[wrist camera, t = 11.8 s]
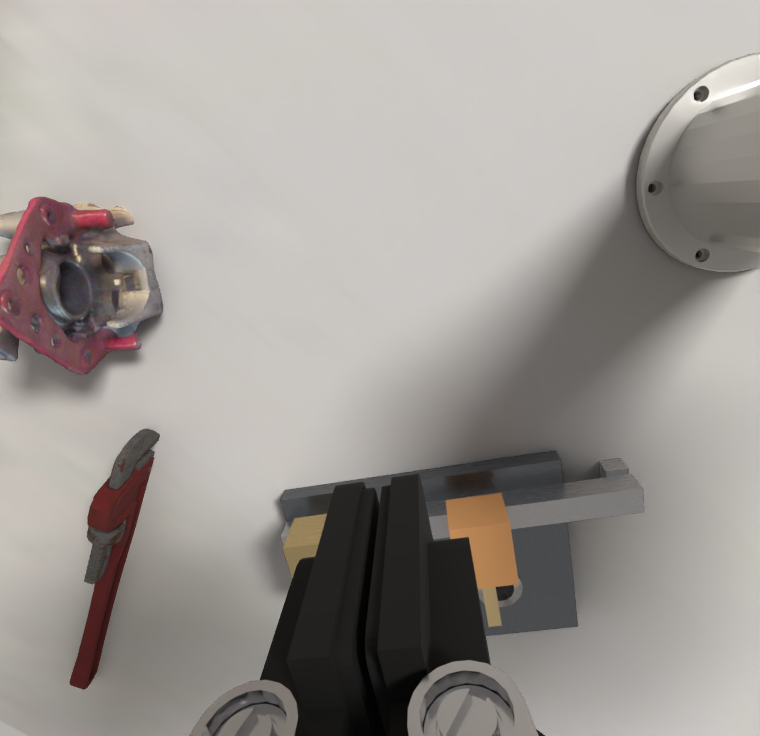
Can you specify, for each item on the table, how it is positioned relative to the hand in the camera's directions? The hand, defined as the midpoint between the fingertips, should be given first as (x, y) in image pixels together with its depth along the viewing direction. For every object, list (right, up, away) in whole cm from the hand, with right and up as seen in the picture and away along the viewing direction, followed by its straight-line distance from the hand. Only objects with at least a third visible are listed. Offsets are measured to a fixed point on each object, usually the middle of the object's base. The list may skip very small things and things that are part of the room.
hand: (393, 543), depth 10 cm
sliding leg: (+8, -10, +29) cm, 32 cm away
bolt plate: (+7, -12, +32) cm, 35 cm away
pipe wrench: (-24, -14, +35) cm, 45 cm away
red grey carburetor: (-21, +10, +27) cm, 35 cm away
